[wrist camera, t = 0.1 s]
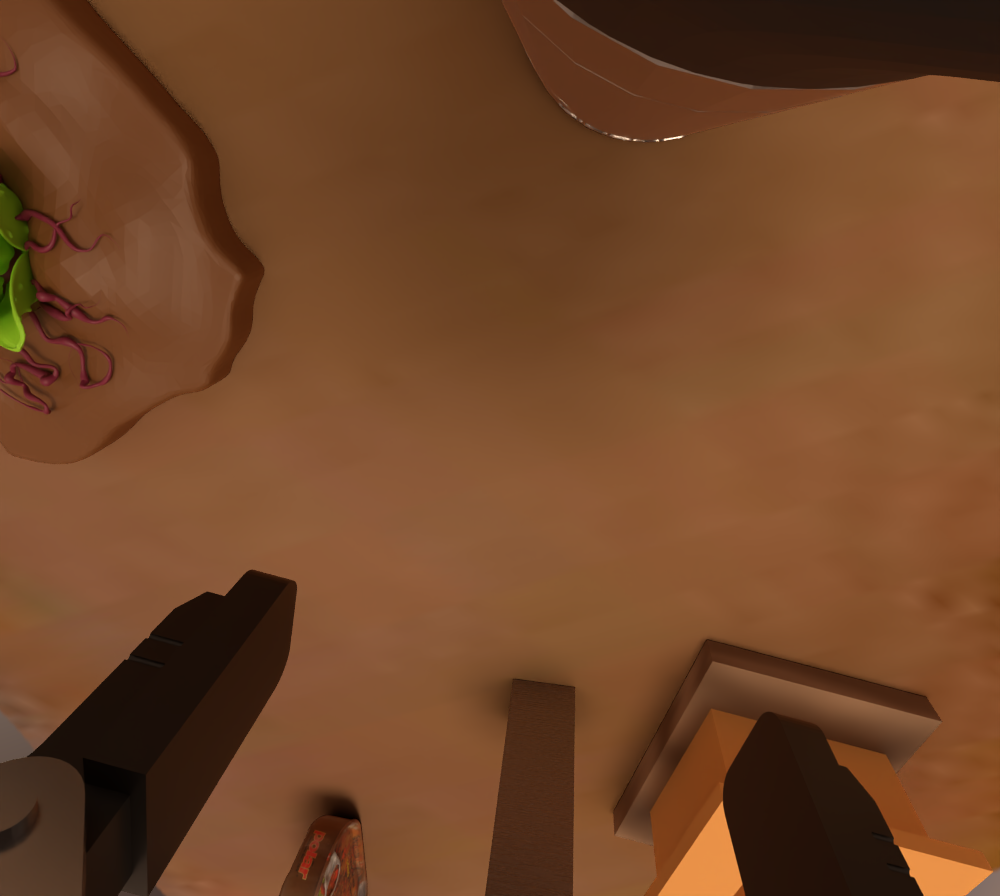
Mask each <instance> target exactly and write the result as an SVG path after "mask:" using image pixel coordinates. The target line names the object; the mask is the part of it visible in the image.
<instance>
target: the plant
mask: <svg viewBox="0 0 1000 896" xmlns="http://www.w3.org/2000/svg"><path fill="white" fill-rule="evenodd" d="M263 275H264V268H263V265H262V264H261V262H260V261H259V260H258V259H257V258H256V257H255V256H254V255H253V254H252V253H251V252H250V251H249V250H248V249H247V248H246V247H245V246H244V245H243V244H242V242H241V241H240V240H239V238H238V237H237V235H236V234H235V232H234V230H233V229H232V227H231V225H230V222H229V220H228V217H227V214H226V211H225V208H224V205H223V201H222V196H221V189H220V172H219V161H218V157H217V154H216V152H215V150H214V148H213V147H212V145H211V143H210V142H209V140H208V139H207V137H206V136H205V134H204V133H203V132H202V131H201V129H200V128H199V127H198V126H197V125H196V124H195V122H194V121H193V120H192V119H191V118H190V117H189V116H188V115H187V114H186V113H185V112H184V111H183V110H182V109H181V108H180V107H179V106H178V104H177V103H176V102H175V101H174V100H173V98H172V97H171V96H170V95H169V94H168V92H167V91H166V90H165V89H164V88H163V86H162V85H161V84H160V83H159V82H158V81H157V80H156V78H155V77H154V76H153V75H152V74H151V73H150V72H149V71H148V70H147V68H146V67H145V66H144V65H143V64H142V63H141V62H140V61H139V60H138V58H137V57H136V56H135V55H134V54H133V53H132V52H131V51H130V50H129V49H128V48H127V47H126V45H125V44H124V43H123V42H122V41H121V40H120V39H119V38H118V37H117V36H116V35H115V34H114V32H113V31H112V30H111V29H110V28H109V27H108V26H107V24H106V23H105V22H104V21H103V20H102V19H101V18H100V17H99V15H98V14H97V13H96V12H95V10H94V9H93V8H92V7H91V5H90V4H89V3H88V2H87V0H0V442H1V444H2V445H3V447H4V448H5V449H6V451H7V452H8V453H9V454H11V455H13V456H16V457H19V458H23V459H27V460H31V461H35V462H42V463H49V464H68V463H74V462H77V461H80V460H83V459H85V458H87V457H89V456H91V455H93V454H95V453H96V452H98V451H100V450H101V449H103V448H105V447H106V446H108V445H110V444H111V443H113V442H114V441H116V440H117V439H119V438H120V437H121V436H123V435H124V434H125V433H126V432H127V431H128V430H129V429H130V428H131V427H132V426H134V425H135V423H136V422H137V421H138V420H139V419H140V418H141V417H142V416H143V415H144V414H146V413H147V412H148V411H150V410H151V409H153V408H155V407H156V406H158V405H160V404H162V403H164V402H165V401H167V400H169V399H171V398H174V397H176V396H178V395H182V394H186V393H192V392H198V391H201V390H204V389H206V388H208V387H210V386H212V385H213V384H215V383H217V382H218V381H220V380H222V379H223V378H224V377H226V376H227V375H228V373H229V372H230V370H231V366H232V363H233V360H234V358H235V356H236V355H237V353H238V352H239V351H240V349H241V348H242V347H243V345H244V343H245V342H246V340H247V338H248V336H249V334H250V331H251V328H252V321H253V304H254V299H255V296H256V293H257V290H258V287H259V284H260V282H261V279H262V277H263Z"/></svg>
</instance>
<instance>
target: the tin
mask: <svg viewBox="0 0 1000 896" xmlns="http://www.w3.org/2000/svg"><path fill="white" fill-rule="evenodd" d="M279 896H367V876H366V867H365V858H364V850H363V839H362V830H361V824H360V822H359V821H358V820H356V819H352V820H350V819H345V818H341V817H337V816H332V815H324V816H321V817H319V818H318V819H317V820H316V821H314V822H313V824H312V825H311V826H310V828H309V830H308V832H307V835H306V838H305V840H304V842H303V844H302V846H301V848H300V850H299V852H298V854H297V856H296V858H295V861H294V863H293V865H292V867H291V870H290V872H289V873H288V875H287V877H286V879H285V881H284V883H283V885H282V888H281V891H280V894H279Z"/></svg>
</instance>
